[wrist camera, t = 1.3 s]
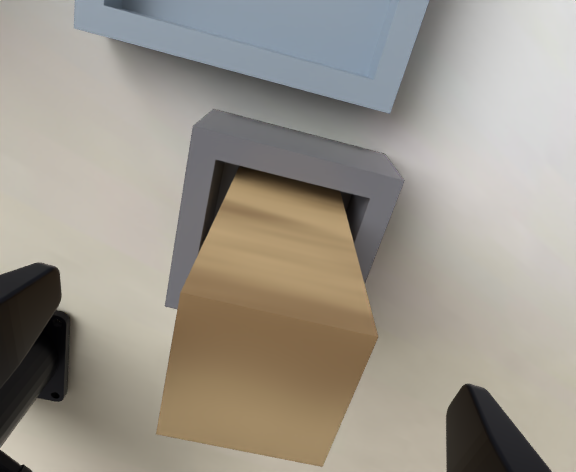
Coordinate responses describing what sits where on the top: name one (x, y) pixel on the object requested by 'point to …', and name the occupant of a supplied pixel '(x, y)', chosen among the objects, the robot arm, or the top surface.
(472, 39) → the top surface
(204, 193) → the socket
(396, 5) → the tray
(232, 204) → the peg
